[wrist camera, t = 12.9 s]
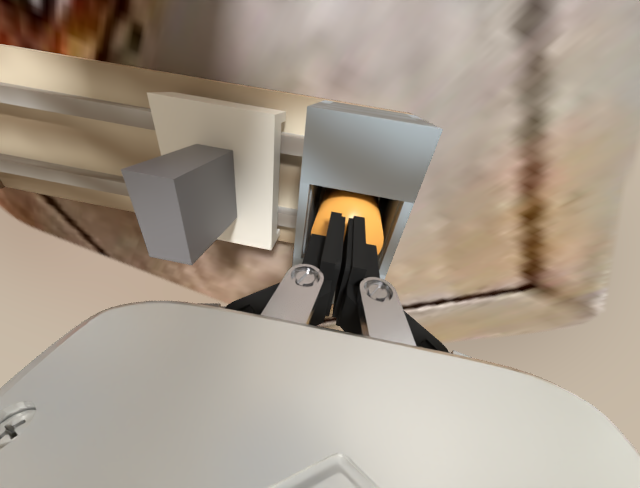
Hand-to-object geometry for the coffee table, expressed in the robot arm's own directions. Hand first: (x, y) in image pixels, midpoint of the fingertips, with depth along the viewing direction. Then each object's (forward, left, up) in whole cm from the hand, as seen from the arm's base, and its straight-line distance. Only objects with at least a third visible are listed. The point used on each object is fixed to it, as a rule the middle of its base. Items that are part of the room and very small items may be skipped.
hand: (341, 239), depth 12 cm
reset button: (+1, 0, -6) cm, 6 cm away
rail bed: (+1, -16, -10) cm, 19 cm away
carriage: (+1, -9, -8) cm, 12 cm away
